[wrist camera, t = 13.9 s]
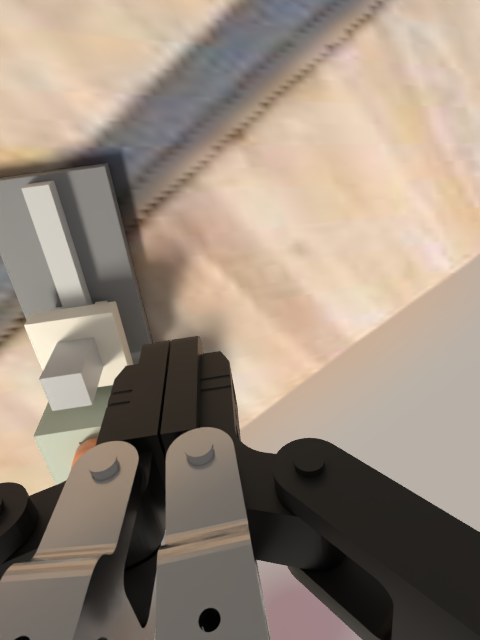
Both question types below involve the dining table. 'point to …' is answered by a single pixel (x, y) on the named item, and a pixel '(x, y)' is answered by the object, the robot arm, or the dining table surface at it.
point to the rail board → (89, 242)
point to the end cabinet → (69, 432)
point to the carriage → (78, 351)
